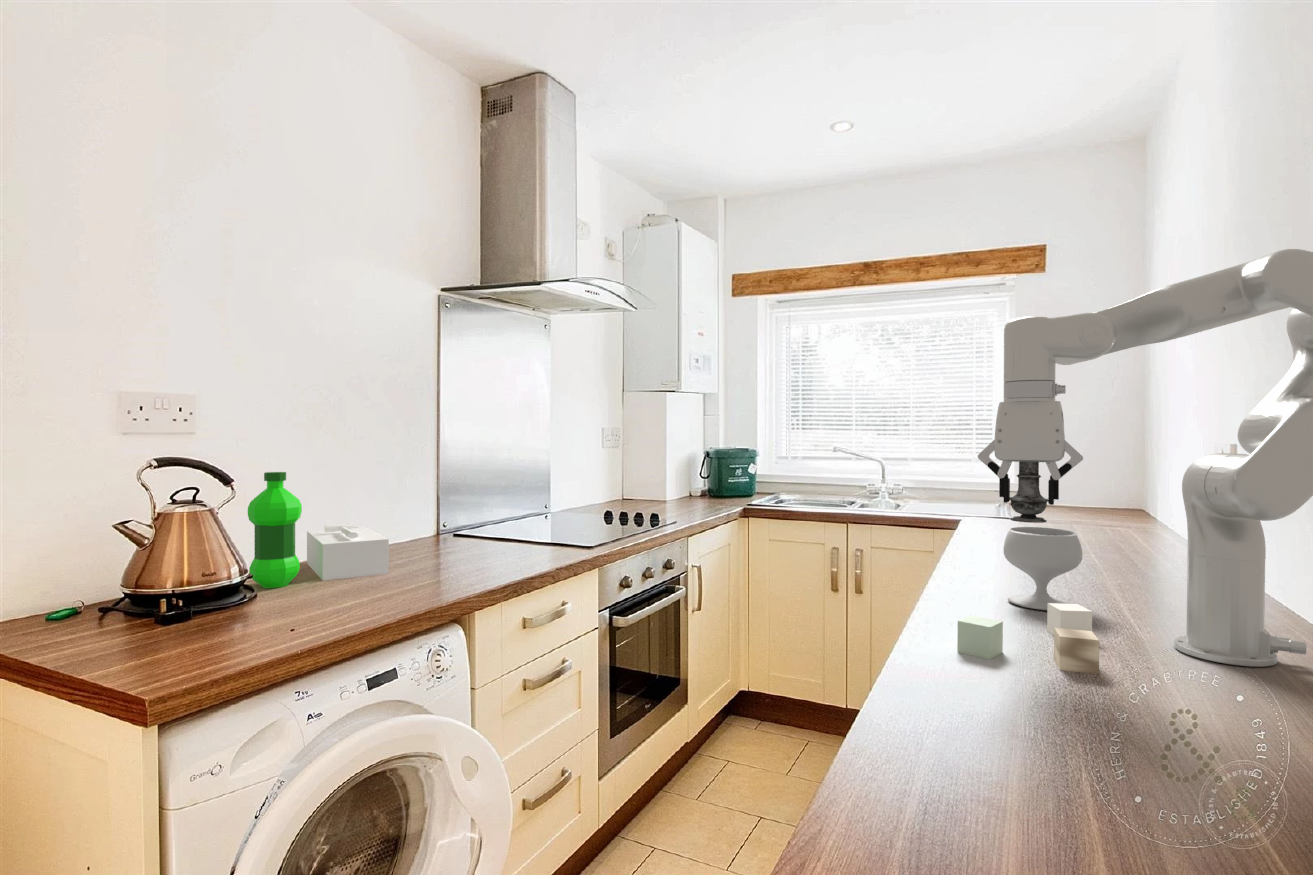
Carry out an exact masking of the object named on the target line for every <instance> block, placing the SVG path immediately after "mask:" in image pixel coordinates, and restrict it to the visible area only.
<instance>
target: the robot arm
mask: <svg viewBox="0 0 1313 875" xmlns="http://www.w3.org/2000/svg"><path fill="white" fill-rule="evenodd" d="M1288 308H1291V309H1292V310H1291V311H1290V313H1289V315H1288V317H1287V321H1286V332H1287V336H1288V338H1289V341H1290V344H1291V347H1292V354H1293V355H1292V363H1291V366H1290V367H1289V369H1288V371H1287V372H1286V373H1285V374H1284V375H1283V377H1282V378H1281V380H1279V382H1278V383H1276V385H1275V386H1274V387H1273V388H1271V390H1270V391H1269V392H1268V393H1267V394H1266V395H1265V396H1264V397H1263V398H1262V400H1260V401H1259V403H1257V405H1255V406H1254V407H1253V409H1252V410H1250V412H1248V413H1247V415H1246V416H1245V417H1244V419H1243V420H1242V421H1241V423H1240V425H1239V427H1238V431H1237V440H1238V443H1239V445H1240V447H1241V448H1242V449H1243V450H1244V451H1246V453H1249V454H1245V453H1232V452H1231V453H1230V452H1229V453H1227V452H1226V453H1224V452H1222V453H1220V452H1217V453H1212V454H1208V455H1204V456H1202V457H1199V458H1198V459H1196V460H1195V461H1193V462H1191V464H1189V466H1188V467H1187V469H1186V470H1185V472H1184V474H1183V476H1182V482H1181V494H1182V500H1183V504H1184V511H1185V515H1186V524H1187V525H1186V527H1187V528H1186V529H1187V562H1186V565H1187V570H1186V573H1187V574H1186V576H1187V578H1186V635H1182V636H1178V637H1176V638H1174V642H1173V645H1174V648H1175V649H1176V650H1178V651H1179V652H1181V653H1183V654H1186V655H1189V656H1191V657H1193V658H1198V659H1201V660H1205V661H1209V662H1214V663H1219V664H1220V663H1221V664H1224V665H1225V664H1226V665H1231V666H1241V667H1252V668H1253V667H1254V668H1255V667H1259V668H1260V667H1261V668H1262V667H1270V666H1275V665H1276V664H1277V663H1278V655H1277V654H1278V653H1279V651H1280V652H1287V653H1290V654H1298V655H1306V654H1307V644H1306V641H1303V640H1297V639H1295V640H1294V639H1291V638H1290V637H1284V636H1277V635H1271V634H1270V633H1269V631H1268V630H1266V629H1265V606H1266V605H1265V601H1266V600H1265V599H1266V598H1265V597H1266V591H1265V590H1266V589H1265V588H1266V553H1267V551H1266V549H1267V548H1266V537H1265V533H1264V528H1263V525H1262V522H1261V521H1267V522H1269V521H1277V520H1281V519H1284V518H1286V517H1288V516H1290V515H1292V514H1293V513H1295V512H1296V511H1298V510H1299V509H1300V508H1302V507H1303V506H1304V505H1305V504H1306V503H1307V502H1308V501H1309V500H1310V499H1311V498H1313V251H1310V250H1305V249H1301V248H1300V249H1298V248H1285V249H1282V250H1277V251H1275V252H1273V253H1269V254H1267V255H1264V256H1261V257H1258V258H1256V259H1253V260H1250V261H1246V262H1244V263H1241V264H1237V265H1234V266H1231V267H1230V266H1229V267H1226V268H1224V269H1221V270H1216V271H1213V272H1211V273H1210V272H1209V273H1207V274H1203V275H1200V276H1196V277H1193V278H1190V279H1187V280H1183V281H1179V282H1175V283H1172V284H1169V285H1165V286H1162V287H1159V288H1157V289H1155V290H1151V291H1149V292H1147V293H1145V294H1142V295H1140V296H1137V297H1135V298H1134V299H1131V300H1130V299H1129V300H1128V301H1125V302H1122V303H1120V304H1117V305H1114V306H1112V307H1109V308H1105V309H1101V310H1098V311H1096V312H1095V311H1094V312H1082V313H1076V314H1075V313H1074V314H1068V315H1062V316H1054V317H1053V316H1052V317H1049V316H1048V317H1047V316H1023V317H1017V318H1012V319H1010V320H1008V321H1007V322H1006V324H1005V325H1004V330H1003V401H1000V402H999V403H998V407H997V410H996V411H997V413H996V419H995V427H994V439H993V440H992V441H991V442H990V443H989V444H988V445H987V446H986V447H985V448H984V449H982V450H981V452H979V453H978V455H977V458H978V460H980V461H981V463H983V464H984V465H985V466H986V467H987V468H988V469H989V470H990V471H992V472H993V473H994V475H996V476H997V478H999V487H998V488H999V489H998V490H999V491H998V492H999V494H998V495H999V498H1003V503H1004V504H1005V503H1006V504H1007V503H1009V502H1011V500H1009V498H1010V497H1011V493H1010V492H1011V490H1010V489H1011V478H1009V474H1008V473H1009V470H1010V467H1011V466H1012V463H1013V462H1014V463H1015V462H1016V463H1019V462H1039V463H1045V464H1046V466H1047V468H1048V470H1049V473H1050V475H1049V479H1048V483H1047V484H1048V485H1047V486H1048V489H1047V490H1048V491H1047V492H1048V493H1047V494H1048V497H1047V499H1048V502H1047V504H1048V505H1050V506H1052V505H1053V506H1054V504H1055V500H1059V498H1060V497H1059V496H1060V488H1059V487H1060V479H1061V478H1063V477H1064V476H1065V475H1066V474H1068V473H1069V472H1070V471H1071V470H1072V469H1074V467H1076V466H1077V465H1078V464H1080V463H1081V462H1082V461H1083V460H1084V456H1083V455H1082V454H1081V453H1080V452H1079V451H1078V450H1077V449H1075V448H1074V447H1073V446H1072V445H1071V444H1070V443H1069V442H1068V441H1067V440H1066V439H1065V437H1066V436H1065V422H1064V421H1065V420H1064V412H1063V407H1062V406H1063V405H1062V403H1061V401H1059V400H1056V397H1057V396H1058V395H1061V394H1063V395H1065V394H1066V391H1067V390H1066V385H1065V384H1064V385H1061V384H1058V383H1056V364H1057V365H1061V366H1071V365H1075V364H1079V363H1084V362H1087V361H1092V360H1096V359H1098V358H1101V357H1102V356H1105V355H1109V354H1113V353H1116V352H1120V351H1124V350H1128V349H1131V348H1136V347H1142V346H1145V345H1152V344H1159V343H1164V342H1168V341H1172V340H1177V339H1180V338H1184V337H1187V336H1191V335H1192V336H1193V335H1195V334H1198V333H1201V332H1204V331H1208V330H1212V329H1215V328H1219V327H1222V326H1226V325H1229V324H1233V323H1237V322H1241V321H1244V320H1248V319H1252V318H1256V317H1259V316H1263V315H1266V314H1269V313H1273V312H1276V311H1280V310H1285V309H1288ZM992 453H994V457H995V458H996V459H997V460H999V461H1002V462H1001V463H1000V465H998V463H996V462H995V461H994V460H993V459H992V458H991V457H990V456H991V455H992ZM1065 453H1066V454H1068V456H1069V457H1070V459H1069V460H1068V461H1066V462H1065V463H1064V464H1063V465H1061V466H1060V467H1059V468H1058V464H1057V463H1056V462H1059V461H1061V460H1063V458H1065Z"/></svg>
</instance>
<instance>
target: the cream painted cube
mask: <svg viewBox="0 0 1313 875" xmlns="http://www.w3.org/2000/svg"><path fill="white" fill-rule="evenodd" d="M1046 612H1047V614H1046V616H1047V617H1046V619H1047V620H1046V623H1047V626H1046V627H1047V628H1046V632H1047V633H1050V634H1051V635H1052V636H1054V628H1063V629H1074V630H1085V631H1092V632H1093V611H1092V610H1090V609H1088V608H1086V607H1085V606H1082V605H1080V604H1078V603H1073V604H1058V603H1047V610H1046Z"/></svg>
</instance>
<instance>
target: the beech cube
mask: <svg viewBox="0 0 1313 875" xmlns="http://www.w3.org/2000/svg"><path fill="white" fill-rule="evenodd" d="M1053 661H1054V663H1055V665H1056V666H1057V668H1058V670H1059V671H1065V672H1075V673H1083V672H1084V673H1085V674H1092V675H1100V639H1099V638H1098V637H1097V636H1096V634H1095V633H1094V632H1093V630H1092V631H1085V630H1074V629H1063V628H1054V635H1053Z"/></svg>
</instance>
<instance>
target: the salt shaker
mask: <svg viewBox="0 0 1313 875" xmlns="http://www.w3.org/2000/svg"><path fill="white" fill-rule="evenodd" d="M1039 464H1040V462H1018V474H1017V475H1016V477H1017V478H1018V483H1017V484H1018V489H1017V492H1016V494H1015V495H1014V496H1010V498H1009V500H1010V506H1011V508H1012V510H1013V511H1015V513H1017V514H1020V515H1017V516H1016V515H1015V516H1013V517H1011V518H1010V521H1014V522H1017V523H1030V524H1032V523H1033V524H1036V523H1039V524H1041V523H1042V524H1043V523H1047V520H1046V519H1045V518H1043V517H1040V516H1037V515H1039V514H1040V515H1041V514H1042V513H1044V511H1046V509H1047V506H1048V505H1047V504H1048V498H1045V497H1044V496H1042V494H1041V492H1040V478H1041V477H1042V475H1041V474H1039V472H1040V469H1039V468H1040V467H1039Z"/></svg>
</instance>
